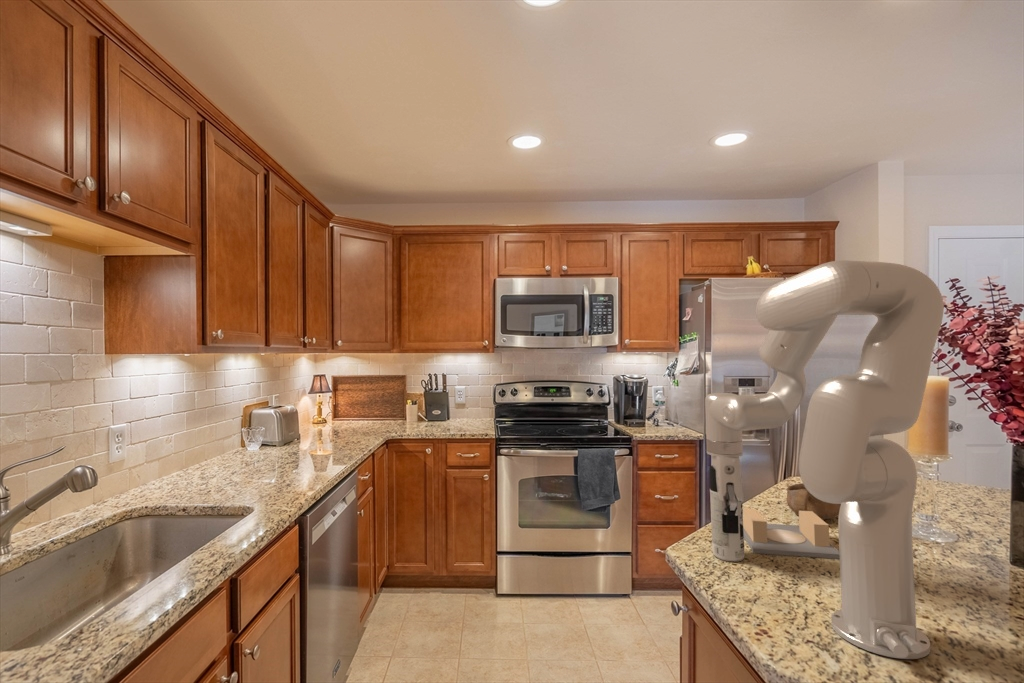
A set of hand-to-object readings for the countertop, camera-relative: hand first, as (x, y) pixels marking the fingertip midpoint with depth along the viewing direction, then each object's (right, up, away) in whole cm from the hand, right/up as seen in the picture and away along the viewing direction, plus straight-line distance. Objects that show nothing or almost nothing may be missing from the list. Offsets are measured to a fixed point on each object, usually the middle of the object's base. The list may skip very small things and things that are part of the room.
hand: (727, 526), depth 108 cm
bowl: (+35, -7, +23) cm, 42 cm away
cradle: (+18, -7, +8) cm, 20 cm away
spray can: (0, -7, 0) cm, 7 cm away
